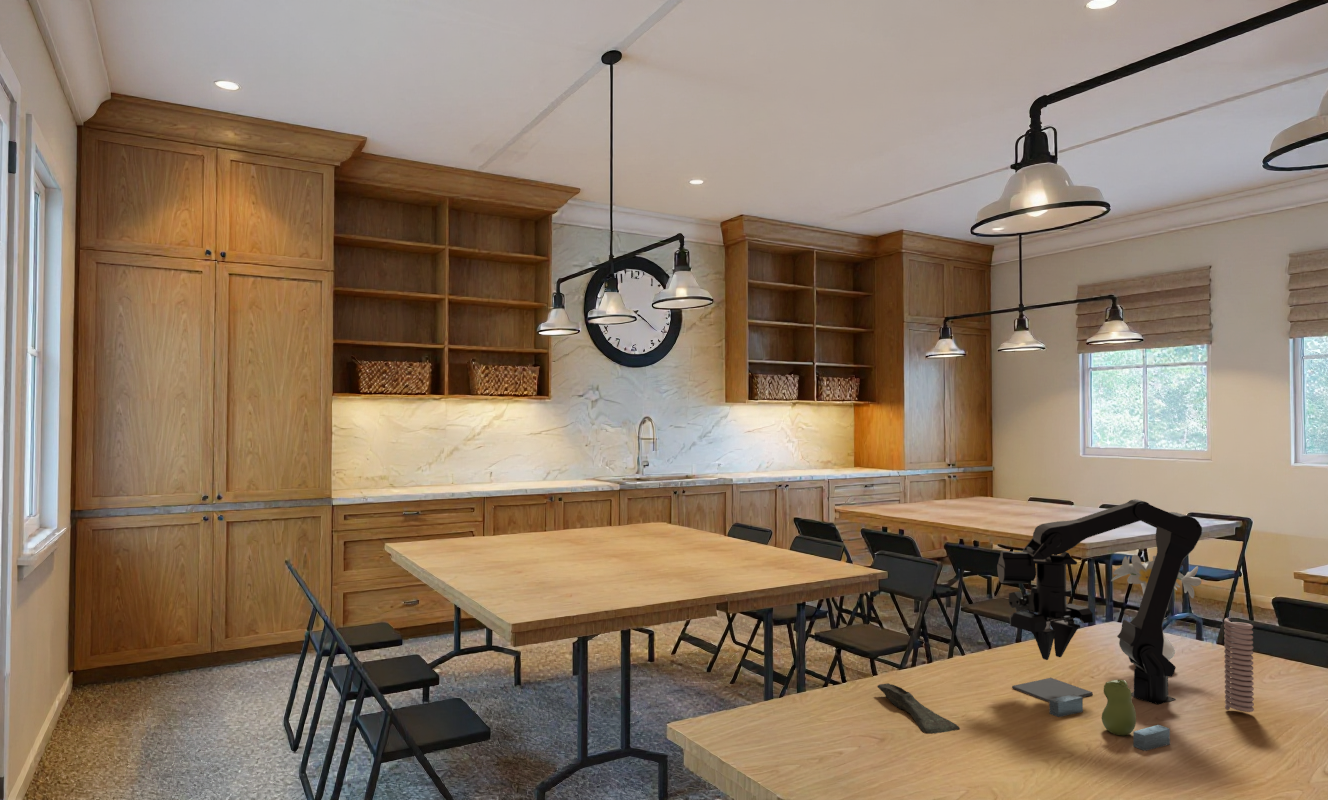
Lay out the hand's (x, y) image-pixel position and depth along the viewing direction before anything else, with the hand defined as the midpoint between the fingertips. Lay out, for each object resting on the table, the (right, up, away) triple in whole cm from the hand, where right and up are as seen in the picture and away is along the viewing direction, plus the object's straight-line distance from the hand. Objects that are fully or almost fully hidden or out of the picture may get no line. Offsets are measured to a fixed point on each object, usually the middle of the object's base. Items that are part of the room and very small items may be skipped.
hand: (1052, 658), depth 167 cm
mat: (0, -7, 0) cm, 7 cm away
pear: (+1, -7, -22) cm, 23 cm away
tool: (-32, -8, -11) cm, 34 cm away
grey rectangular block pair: (0, -7, -20) cm, 21 cm away
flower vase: (+34, -8, +19) cm, 40 cm away
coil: (+32, -7, -11) cm, 34 cm away
